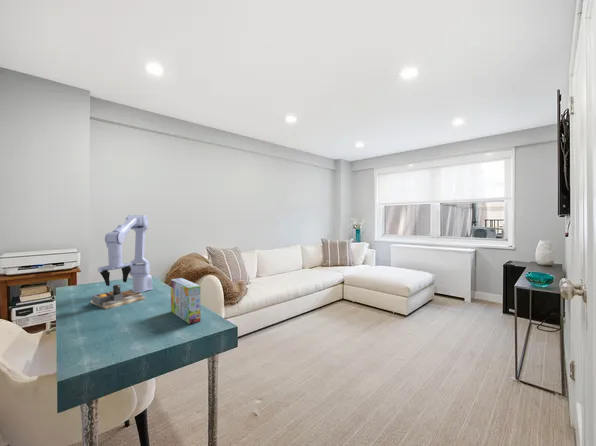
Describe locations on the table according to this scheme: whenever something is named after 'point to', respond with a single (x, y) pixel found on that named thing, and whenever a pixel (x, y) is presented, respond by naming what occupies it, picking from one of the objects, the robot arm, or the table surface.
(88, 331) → the table surface
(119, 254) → the robot arm
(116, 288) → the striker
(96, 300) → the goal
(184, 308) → the snack box
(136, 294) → the beige grooved board
